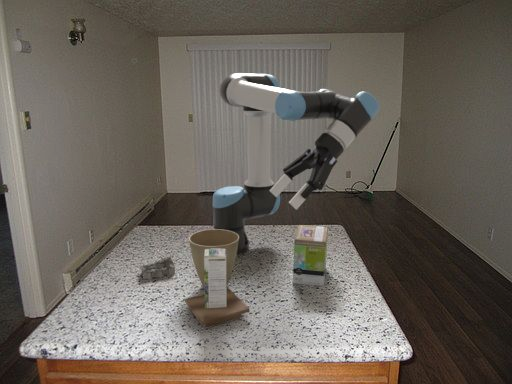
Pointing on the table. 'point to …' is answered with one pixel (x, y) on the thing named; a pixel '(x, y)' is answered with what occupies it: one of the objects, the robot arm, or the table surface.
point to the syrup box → (215, 278)
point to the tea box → (310, 255)
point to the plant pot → (210, 241)
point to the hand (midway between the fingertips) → (281, 199)
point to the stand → (217, 310)
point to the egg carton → (158, 268)
